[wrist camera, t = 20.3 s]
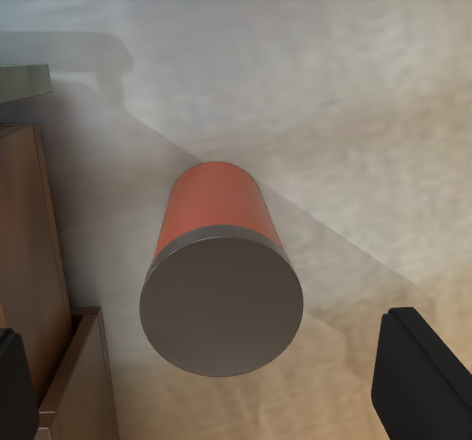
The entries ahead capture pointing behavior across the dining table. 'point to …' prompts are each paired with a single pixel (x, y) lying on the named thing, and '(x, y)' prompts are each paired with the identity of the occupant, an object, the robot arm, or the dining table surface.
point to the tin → (219, 277)
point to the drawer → (30, 237)
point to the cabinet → (81, 386)
